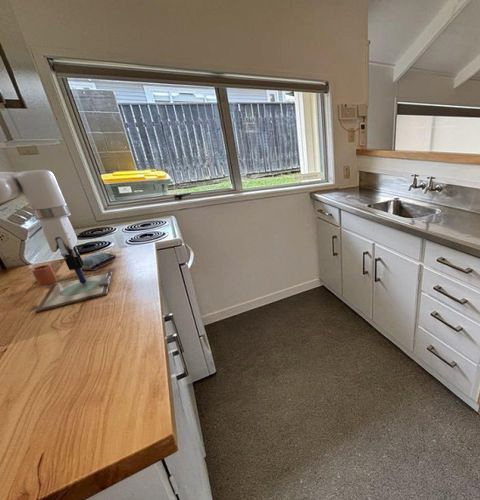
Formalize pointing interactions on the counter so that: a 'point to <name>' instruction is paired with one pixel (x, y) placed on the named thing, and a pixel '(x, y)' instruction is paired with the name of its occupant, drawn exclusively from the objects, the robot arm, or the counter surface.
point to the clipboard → (75, 291)
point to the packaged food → (97, 260)
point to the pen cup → (44, 274)
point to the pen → (80, 275)
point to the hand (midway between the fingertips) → (76, 267)
